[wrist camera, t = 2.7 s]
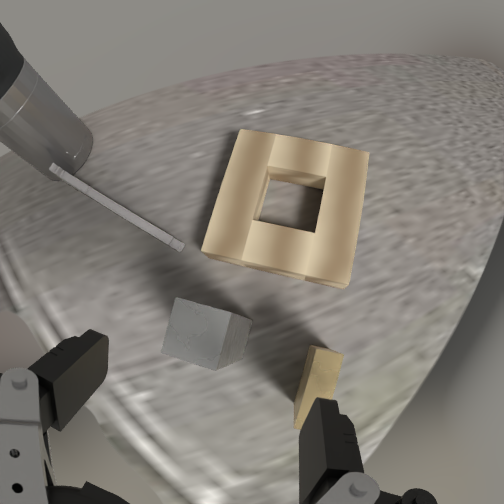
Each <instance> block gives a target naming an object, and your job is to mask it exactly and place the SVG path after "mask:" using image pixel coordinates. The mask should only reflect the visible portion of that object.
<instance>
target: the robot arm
mask: <svg viewBox="0 0 504 504" xmlns="http://www.w3.org/2000/svg"><path fill="white" fill-rule="evenodd" d="M0 142H2V143H3V144H4V145H6V146H7V147H8V148H10V149H11V150H12V151H13V152H15V153H16V154H17V155H19V156H20V157H21V158H23V159H24V160H25V161H27V162H28V163H29V164H31V165H32V166H33V167H35V168H36V169H37V170H39V171H40V172H41V173H43V174H44V175H45V176H47V177H48V178H50V179H51V180H54V181H60V180H61V179H60V178H59V177H57V176H56V175H55V174H54V173H52V172H51V171H50V170H49V168H50V167H51V165H52V164H53V163H54V164H56V165H57V166H58V167H61V168H62V169H63V170H64V171H66V172H68V173H69V174H71V175H73V174H74V173H75V172H76V171H78V169H79V168H80V167H81V166H82V165H83V164H84V162H85V161H86V159H87V157H88V156H89V154H90V151H91V148H92V143H93V137H92V133H91V132H90V130H89V129H88V128H87V127H86V126H85V125H84V124H83V123H82V122H81V120H80V119H79V118H78V117H77V116H76V115H75V114H74V113H73V112H72V111H71V109H70V108H69V107H68V106H67V105H66V104H65V103H64V102H63V101H62V100H61V99H60V97H59V96H58V95H57V94H56V93H55V92H54V91H53V90H52V89H51V88H50V86H49V85H48V84H47V83H46V82H45V81H44V80H43V79H42V78H41V76H40V75H39V74H38V73H37V72H36V71H35V70H34V69H33V68H32V66H31V65H30V64H29V63H28V62H27V61H26V60H25V59H24V57H23V56H22V55H21V54H20V52H19V51H18V50H17V48H16V46H15V44H14V42H13V40H12V38H11V37H10V35H9V33H8V32H7V31H6V30H5V28H4V27H3V26H2V24H1V23H0ZM108 347H109V339H108V336H106V335H103V334H101V333H99V332H96V331H94V330H91V329H89V330H88V331H86V332H85V333H84V334H83V335H81V336H80V337H76V336H74V337H71V338H68V339H65V340H63V341H62V342H60V343H59V344H58V345H57V346H56V347H54V348H53V349H51V350H50V352H48V353H46V354H45V355H44V356H43V357H41V358H40V359H39V360H38V361H36V362H35V363H34V364H33V365H31V366H30V367H29V368H28V369H25V368H12V369H9V370H7V371H6V372H4V374H2V373H0V504H129V503H128V502H127V501H125V500H124V499H122V498H120V497H119V496H117V495H115V494H113V493H110V492H108V491H106V490H104V489H102V488H99V487H97V486H95V485H93V484H91V483H89V482H87V481H86V483H85V484H84V486H83V488H78V487H72V486H57V483H56V479H55V475H54V471H53V464H52V458H51V450H50V443H49V435H48V428H49V427H50V426H51V427H53V428H55V429H56V430H58V431H62V429H63V428H64V427H65V426H66V424H68V422H69V421H70V420H71V419H72V418H73V416H74V415H75V414H76V413H77V412H78V410H79V409H80V408H81V407H82V406H83V405H84V403H85V402H86V401H87V400H88V399H89V398H90V396H91V395H92V394H93V393H94V392H95V391H96V390H97V388H98V387H99V386H100V385H101V384H102V382H103V381H104V379H105V377H106V374H107V370H108ZM357 443H358V442H357V437H356V433H355V428H354V425H353V423H352V422H351V421H350V419H349V418H348V416H347V415H342V414H340V413H339V408H338V403H337V401H336V400H331V399H326V398H320V397H317V398H316V399H315V400H314V402H313V404H312V406H311V409H310V411H309V413H308V415H307V417H306V419H305V421H304V423H303V425H302V428H301V431H300V435H299V504H437V501H436V499H435V498H434V496H433V495H432V494H430V493H429V492H428V491H425V490H423V489H417V488H415V489H410V490H408V491H407V492H405V493H404V495H403V496H402V497H401V496H398V495H394V494H390V493H387V492H383V491H380V489H379V486H378V484H377V482H376V481H375V480H374V479H373V478H371V477H370V476H368V475H366V474H364V470H363V465H362V460H361V455H360V451H359V446H358V445H357Z"/></svg>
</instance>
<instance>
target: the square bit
mask: <svg viewBox="0 0 504 504" xmlns="http://www.w3.org/2000/svg"><path fill="white" fill-rule="evenodd" d="M251 324H252V320H250V319H248V318H245V317H242V316H240V315H237V314H234V313H232V312H228V311H225V310H221V309H217V308H213V307H210V306H206V305H203V304H199V303H196V302H192V301H189V300H185V299H182V298H178V297H176V298H175V301H174V305H173V309H172V312H171V316H170V320H169V323H168V327H167V331H166V334H165V338H164V342H163V346H162V350H161V353H163V354H166V355H169V356H172V357H175V358H178V359H181V360H184V361H187V362H190V363H193V364H196V365H199V366H202V367H205V368H208V369H212V370H215V371H217V370H219V369H221V368H223V367H226V366H228V365H230V364H233V363H235V362H237V361H239V360H242V358H243V354H244V351H245V347H246V343H247V339H248V336H249V332H250V328H251Z"/></svg>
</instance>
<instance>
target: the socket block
mask: <svg viewBox="0 0 504 504" xmlns="http://www.w3.org/2000/svg"><path fill="white" fill-rule="evenodd" d="M368 160H369V152H365V151H361V150H356V149H352V148H347V147H343V146H338V145H333V144H328V143H323V142H318V141H313V140H307V139H302V138H296V137H290V136H284V135H278V134H272V133H265V132H258V131H251V130H243V129H240V131H239V134H238V137H237V140H236V143H235V146H234V149H233V152H232V155H231V158H230V161H229V164H228V167H227V170H226V173H225V176H224V179H223V182H222V185H221V188H220V191H219V194H218V197H217V200H216V204H215V207H214V210H213V213H212V216H211V219H210V223H209V226H208V229H207V232H206V236H205V239H204V242H203V246H202V249H201V251H202V252H203V253H204V254H205V255H206V256H207V257H208V258H210V259H215V260H219V261H223V262H227V263H231V264H236V265H240V266H244V267H248V268H253V269H257V270H261V271H266V272H270V273H274V274H278V275H283V276H287V277H292V278H296V279H300V280H305V281H309V282H313V283H318V284H322V285H327V286H331V287H336V288H340V289H345V288H346V287H347V286H348V285H349V281H350V276H351V271H352V265H353V260H354V255H355V249H356V243H357V238H358V232H359V225H360V219H361V213H362V206H363V199H364V192H365V184H366V177H367V168H368ZM270 179H273V180H278V181H283V182H288V183H294V184H299V185H304V186H309V187H313V188H318V189H323V190H324V191H323V196H322V201H321V206H320V211H319V216H318V221H317V226H316V230H315V233H312V232H307V231H303V230H298V229H293V228H289V227H284V226H279V225H275V224H270V223H265V222H260V221H258V220H259V217H260V213H261V209H262V206H263V202H264V198H265V194H266V191H267V187H268V183H269V180H270Z"/></svg>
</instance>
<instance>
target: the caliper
mask: <svg viewBox="0 0 504 504" xmlns="http://www.w3.org/2000/svg"><path fill="white" fill-rule="evenodd" d="M49 170H50V171H51V172H52V173H54V174H55V175H56V176H57V177H59V178H60V179H61V180H63V181H64V182H65V183H67V184H68V185H70V186H72V187H73V188H75V189H76V190H77V191H78V190H79V191H80V192H82V193H83V194H85V195H87V196H88V197H90V198H91V199H93V200H95V201H97V202H98V203H100V204H101V205H103V206H105V207H106V208H108V209H109V210H111V211H113V212H114V213H116V214H117V215H119V216H121V217H122V218H124V219H125V220H127V221H129V222H130V223H132V224H134V225H135V226H137V227H138V228H140V229H142V230H143V231H145V232H147V233H148V234H150V235H152V236H153V237H155V238H157V239H158V240H160V241H162V242H163V243H165V244H167V245H168V246H170V247H172V248H174V249H175V250H177V251H179V252H180V253H181V251H182V249H183V247H184V246H185V244H183V243H182V242H180V241H179V240H177V239H175V238H174V237H173V236H171V235H169V234H167V233H166V232H164V231H162V230H161V229H159V228H157V227H156V226H154V225H152V224H151V223H149V222H147V221H146V220H144V219H142V218H141V217H139V216H137V215H136V214H134V213H132V212H131V211H129V210H127V209H126V208H124V207H122V206H121V205H119V204H117V203H116V202H114V201H112V200H111V199H109V198H108V197H106V196H104V195H103V194H101V193H99V192H98V191H96V190H94V189H93V188H91V187H90V186H88V185H87V184H85V183H84V182H82V181H80V180H79V179H77V178H76V177H74V176H72V175H71V174H69V173H68V172H66V171H64V170H63V169H62V168H61V167H58V166H57V165H56V164H54V163H53V164H52V165H51V167H50V168H49Z"/></svg>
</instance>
